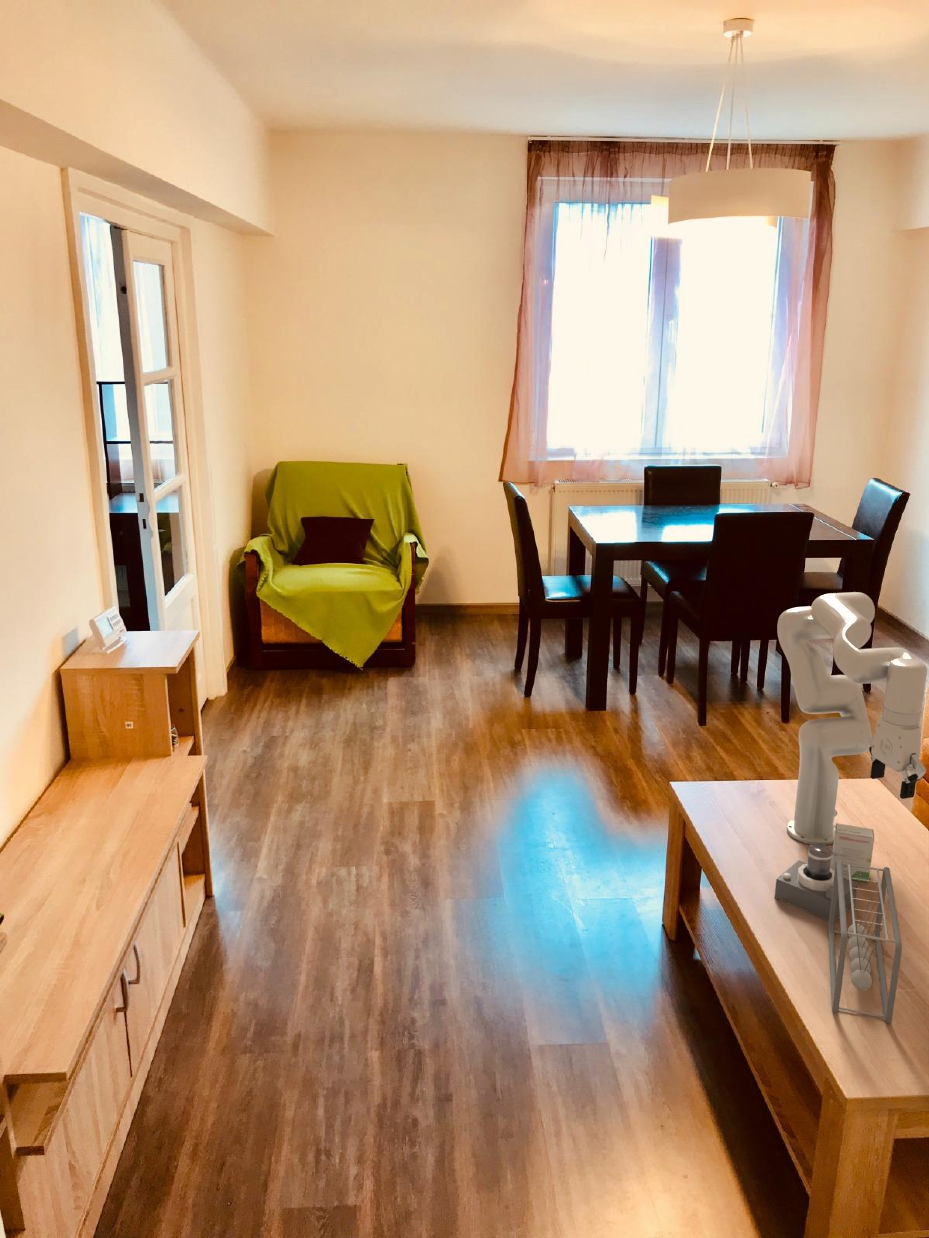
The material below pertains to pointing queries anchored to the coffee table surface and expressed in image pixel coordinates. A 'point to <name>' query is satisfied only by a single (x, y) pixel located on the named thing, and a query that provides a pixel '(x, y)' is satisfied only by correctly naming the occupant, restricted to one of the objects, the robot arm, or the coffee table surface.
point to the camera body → (810, 891)
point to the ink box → (853, 850)
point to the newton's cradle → (863, 942)
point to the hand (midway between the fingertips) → (891, 787)
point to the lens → (819, 862)
